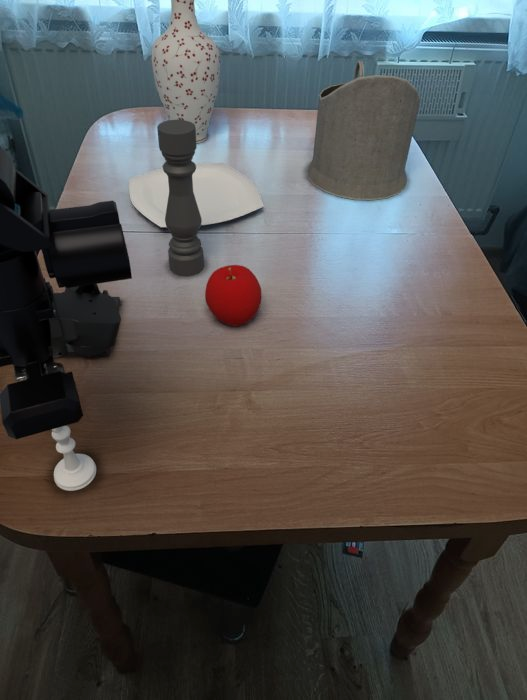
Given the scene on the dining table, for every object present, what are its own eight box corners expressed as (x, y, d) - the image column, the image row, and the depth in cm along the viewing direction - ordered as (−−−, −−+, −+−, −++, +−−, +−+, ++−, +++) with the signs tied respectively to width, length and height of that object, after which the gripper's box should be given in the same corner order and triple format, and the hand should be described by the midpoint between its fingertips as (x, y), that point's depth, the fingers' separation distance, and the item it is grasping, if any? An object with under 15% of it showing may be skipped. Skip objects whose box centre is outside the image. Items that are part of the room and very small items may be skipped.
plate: (228, 164, 129) (228, 156, 127) (279, 218, 111) (280, 209, 110) (116, 183, 120) (115, 174, 118) (152, 244, 102) (151, 235, 101)
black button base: (110, 361, 79) (107, 346, 77) (38, 362, 79) (32, 347, 77) (123, 302, 89) (120, 287, 87) (58, 302, 89) (54, 287, 87)
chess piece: (104, 463, 66) (89, 410, 60) (81, 496, 63) (63, 444, 56) (69, 451, 68) (50, 398, 61) (45, 483, 64) (23, 431, 57)
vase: (221, 126, 146) (219, -31, 122) (221, 151, 134) (218, -18, 110) (161, 124, 145) (146, -34, 121) (155, 150, 133) (138, -20, 109)
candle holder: (196, 253, 101) (188, 116, 83) (209, 271, 97) (203, 131, 79) (164, 261, 98) (149, 122, 81) (176, 279, 94) (163, 137, 77)
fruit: (198, 305, 89) (195, 254, 83) (248, 293, 92) (249, 243, 85) (217, 340, 83) (216, 288, 77) (270, 326, 86) (273, 275, 79)
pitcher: (310, 198, 118) (323, 75, 101) (302, 139, 141) (311, 31, 124) (415, 201, 118) (446, 80, 101) (390, 143, 141) (412, 35, 124)
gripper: (128, 336, 43) (150, 453, 53) (87, 221, 55) (111, 335, 66) (-24, 372, 39) (32, 489, 50) (-32, 241, 52) (14, 358, 62)
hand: (52, 408), depth 57 cm, fingers open, 4 cm apart
